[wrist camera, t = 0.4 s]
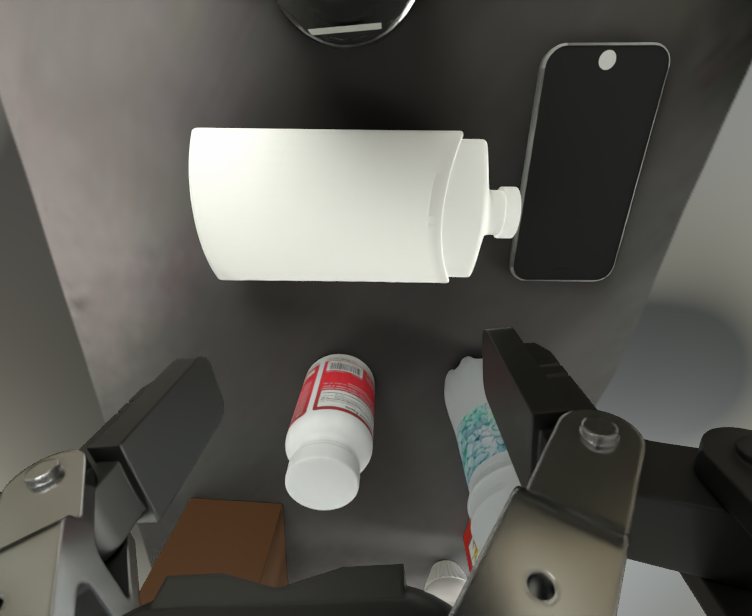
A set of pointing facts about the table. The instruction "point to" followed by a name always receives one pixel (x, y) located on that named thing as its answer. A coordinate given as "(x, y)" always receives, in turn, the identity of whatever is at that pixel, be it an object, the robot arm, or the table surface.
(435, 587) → the muffin
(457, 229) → the squeeze bottle
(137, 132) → the table surface
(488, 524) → the bottle
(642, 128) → the smartphone
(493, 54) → the table surface
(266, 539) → the rack
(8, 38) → the table surface
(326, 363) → the pill bottle
